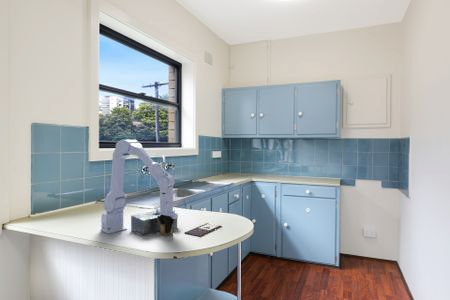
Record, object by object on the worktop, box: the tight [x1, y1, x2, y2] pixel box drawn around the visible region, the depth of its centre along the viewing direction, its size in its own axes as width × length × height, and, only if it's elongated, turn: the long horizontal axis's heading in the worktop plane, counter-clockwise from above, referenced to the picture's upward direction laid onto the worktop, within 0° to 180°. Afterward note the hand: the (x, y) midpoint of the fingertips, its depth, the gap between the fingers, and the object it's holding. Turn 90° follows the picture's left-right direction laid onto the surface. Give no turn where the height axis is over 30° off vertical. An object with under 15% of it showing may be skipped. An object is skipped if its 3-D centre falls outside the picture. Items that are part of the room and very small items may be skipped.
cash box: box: [130, 210, 178, 237], centre depth 136 cm, size 18×12×7 cm, turn 135°
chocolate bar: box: [184, 222, 222, 238], centre depth 134 cm, size 9×1×18 cm
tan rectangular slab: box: [160, 224, 174, 238], centre depth 127 cm, size 5×2×5 cm, turn 135°
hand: (166, 231), depth 127 cm, fingers closed on tan rectangular slab, 2 cm apart
